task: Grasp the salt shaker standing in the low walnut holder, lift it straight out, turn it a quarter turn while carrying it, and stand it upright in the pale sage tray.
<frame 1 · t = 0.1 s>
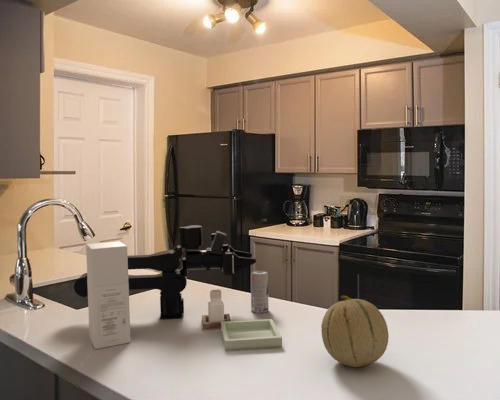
hand: (253, 257, 140), 17 cm above the worktop, tool horizontal, fingers open, 9 cm apart
tall white carton: (109, 341, 119), on the worktop
energy drink: (259, 311, 142), on the worktop
salt shaker: (216, 324, 130), resting in holder
cantaloupe: (354, 364, 102), on the worktop
holder: (216, 323, 130), on the worktop
tray: (250, 338, 118), on the worktop
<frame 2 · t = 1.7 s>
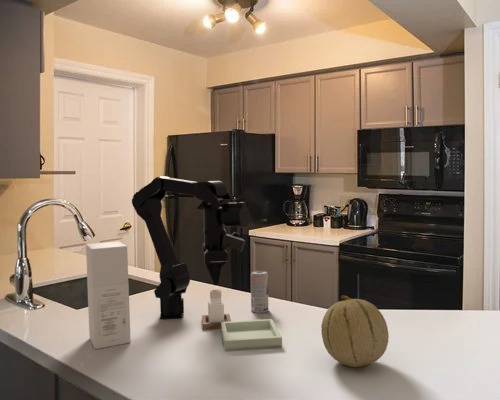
hand: (215, 280, 129), 12 cm above the worktop, tool pointing down, fingers open, 9 cm apart
nothing on the worktop moved.
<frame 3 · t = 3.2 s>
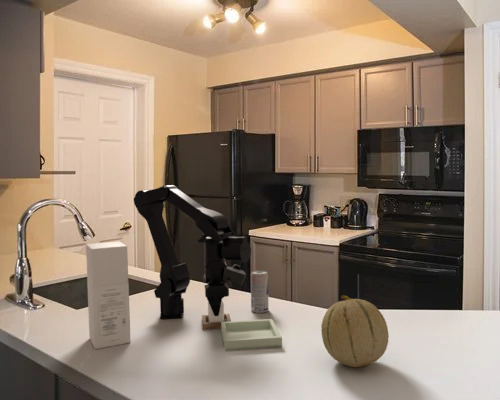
hand: (216, 313, 130), 3 cm above the worktop, tool pointing down, fingers closed on salt shaker, 4 cm apart
salt shaker: (216, 324, 130), resting in holder, touching gripper
everything else where it was.
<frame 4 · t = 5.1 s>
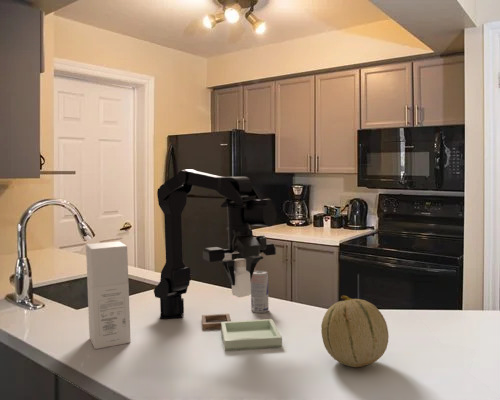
hand: (240, 284, 120), 14 cm above the worktop, tool pointing down, fingers closed on salt shaker, 4 cm apart
salt shaker: (241, 296, 120), point 10 cm above the worktop, touching gripper
everything else where it was.
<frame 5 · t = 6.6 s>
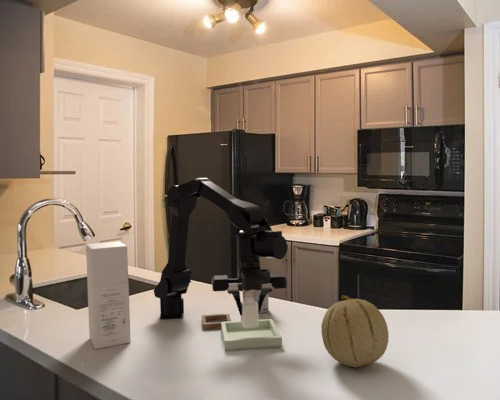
hand: (249, 314, 118), 6 cm above the worktop, tool pointing down, fingers closed on salt shaker, 4 cm apart
salt shaker: (249, 326, 118), point 3 cm above the worktop, touching gripper
everything else where it was.
when the fingers open (5 cm above the worktop, at t = 7.3 s): salt shaker drops 1 cm, resting on tray.
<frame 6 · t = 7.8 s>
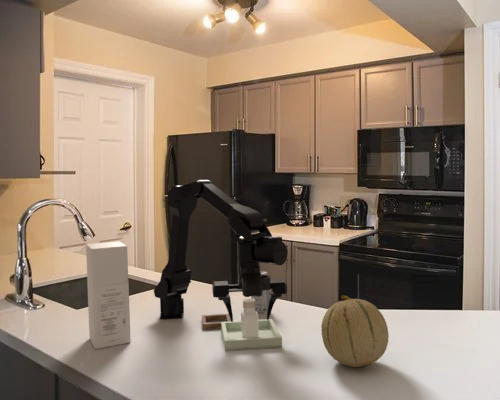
hand: (249, 320, 118), 5 cm above the worktop, tool pointing down, fingers open, 9 cm apart
salt shaker: (250, 337, 118), resting on tray
everything else where it was.
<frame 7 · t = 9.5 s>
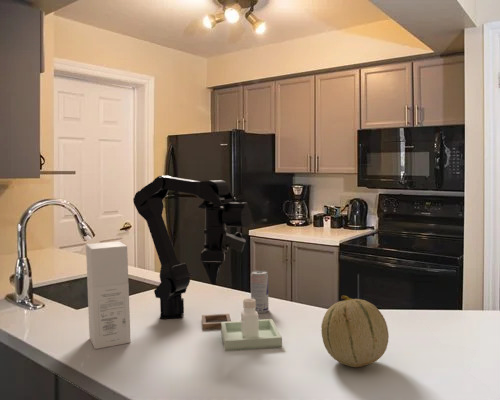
hand: (215, 280, 129), 13 cm above the worktop, tool pointing down, fingers open, 9 cm apart
nothing on the worktop moved.
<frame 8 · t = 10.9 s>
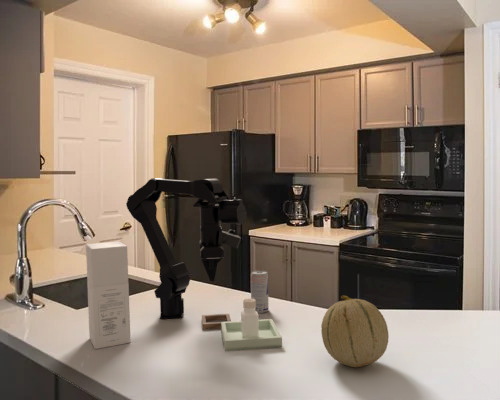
hand: (211, 277, 131), 13 cm above the worktop, tool pointing down, fingers open, 9 cm apart
nothing on the worktop moved.
at the end: salt shaker inside the target area on the tray (0.1 cm from its centre), point 0.4 cm above the tray's base; salt shaker tilted 0°; the gripper is holding nothing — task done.
